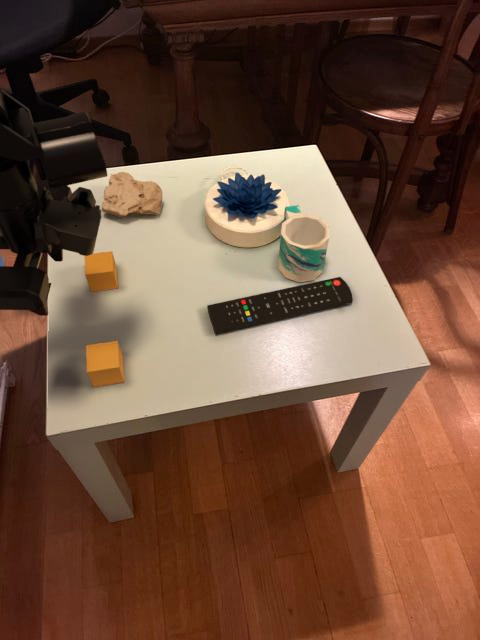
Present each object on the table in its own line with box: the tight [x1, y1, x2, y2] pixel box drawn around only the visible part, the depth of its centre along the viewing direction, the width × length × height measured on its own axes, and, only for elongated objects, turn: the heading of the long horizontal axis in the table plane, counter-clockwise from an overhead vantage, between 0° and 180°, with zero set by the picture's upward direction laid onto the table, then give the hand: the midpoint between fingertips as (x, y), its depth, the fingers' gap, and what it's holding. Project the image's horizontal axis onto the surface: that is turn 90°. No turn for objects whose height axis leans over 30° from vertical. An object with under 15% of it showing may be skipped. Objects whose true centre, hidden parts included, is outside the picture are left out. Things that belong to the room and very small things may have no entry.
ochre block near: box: [85, 340, 125, 388], centre depth 71 cm, size 4×4×4 cm
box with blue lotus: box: [204, 166, 290, 249], centre depth 91 cm, size 7×16×20 cm
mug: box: [277, 204, 330, 283], centre depth 84 cm, size 8×12×8 cm
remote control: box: [206, 276, 354, 335], centre depth 80 cm, size 5×24×1 cm, turn 106°
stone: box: [101, 171, 163, 218], centre depth 91 cm, size 9×11×5 cm
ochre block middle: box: [84, 250, 119, 293], centre depth 81 cm, size 4×4×4 cm
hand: (51, 286), depth 64 cm, fingers open, 9 cm apart
